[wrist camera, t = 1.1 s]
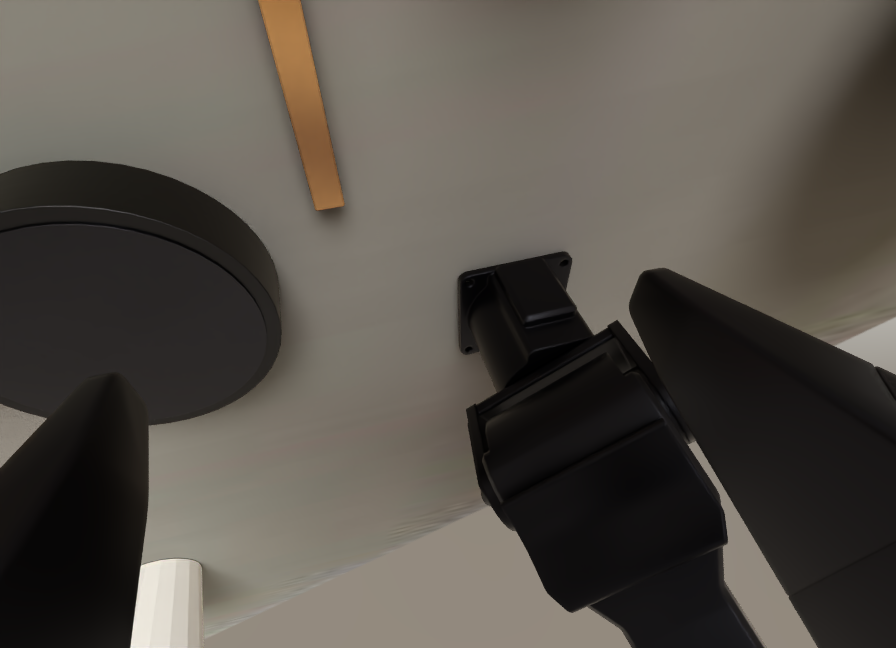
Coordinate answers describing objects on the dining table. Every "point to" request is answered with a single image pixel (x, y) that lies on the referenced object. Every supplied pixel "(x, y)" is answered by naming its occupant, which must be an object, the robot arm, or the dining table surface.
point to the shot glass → (169, 605)
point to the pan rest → (303, 98)
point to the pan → (129, 290)
